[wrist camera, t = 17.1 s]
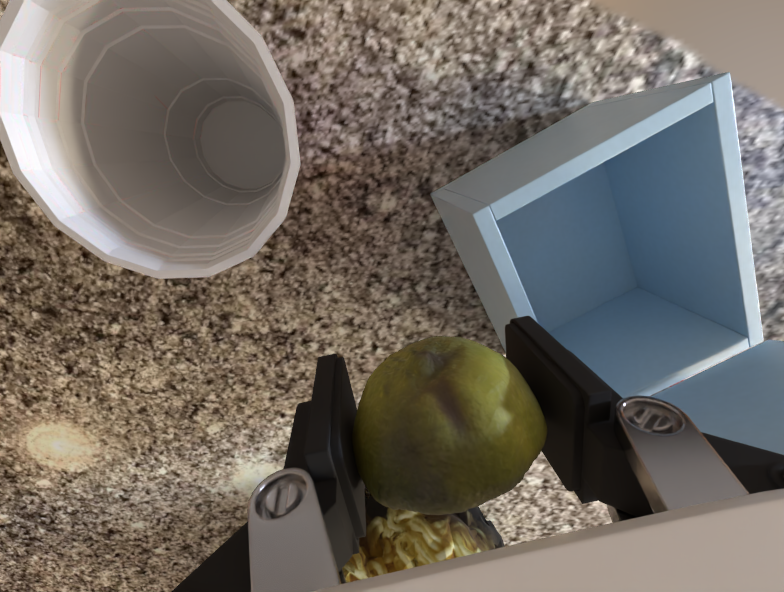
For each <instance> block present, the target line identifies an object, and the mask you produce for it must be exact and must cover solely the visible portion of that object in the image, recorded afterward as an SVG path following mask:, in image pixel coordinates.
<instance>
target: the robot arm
mask: <svg viewBox="0 0 784 592" xmlns="http://www.w3.org/2000/svg"><path fill="white" fill-rule="evenodd" d="M505 342H506V358H507V359H508V360H509V361H510V362H511V363H512V364H513V365H514V366H515V367H516V368H517V369H518V371H519V372H520V373H521V375H522V376H523V378H524V379H525V381H526V382H527V384H528V385H529V387H530V389H531V390H532V392H533V394H534V395H535V397H536V399H537V401H538V403H539V405H540V408H541V410H542V413H543V415H544V418H545V421H546V425H547V437H546V441H545V444H544V446H543V448H542V450H541V451H542V452H543V454H544V455H545V457H546V458H547V460H548V461H549V463H550V465H551V466H552V468H553V469H554V471H555V472H556V474H557V475H558V477H559V479H560V480H561V482H562V483H563V485H564V486H565V488H566V489H567V490H568V491H570V492H571V491H574V492H575V493H576V495H577V496H578V498H579V499H580V501H581V502H582V504H584V503H589V502H593V501H598V500H599V501H600V502H603V503H605V504H607V508H608V512H609V514H610V517H611V520H612V522H613V523H610V524H606V525H601V526H596V527H592V528H587V529H583V530H578V531H574V532H569V533H565V534H560V535H556V536H551V537H547V538H542V539H538V540H533V541H529V542H524V543H520V544H515V545H511V546H506V547H502V548H498V549H493V550H489V551H484V552H480V553H475V554H471V555H466V556H462V557H457V558H453V559H449V560H444V561H440V562H436V563H431V564H427V565H423V566H418V567H414V568H410V569H405V570H401V571H397V572H392V573H388V574H383V575H379V576H375V577H370V578H366V579H362V580H357V581H353V582H349V583H347V582H346V578H345V575H344V571H343V567H344V566H345V564H346V563H347V562H348V561H349V559H350V558H351V557H352V555H353V554H357V553H359V538H361V537H365V536H366V515H365V491H364V483H363V480H362V478H361V476H360V474H359V473H358V469H357V466H356V461H355V456H354V452H353V445H352V433H353V428H354V421H355V417H356V413H357V408H356V404H355V400H354V396H353V392H352V388H351V384H350V380H349V376H348V372H347V368H346V364H345V360H344V357H340V358H338V357H337V355H336V354H332V355H327V356H322V357H318V362H317V368H316V375H315V381H314V387H313V394H312V400H311V401H308V402H303V403H299V404H298V405H297V408H296V413H295V418H294V422H293V427H292V432H291V437H290V441H289V446H288V451H287V456H286V460H285V465H284V469H283V470H280V471H277V472H275V473H273V474H271V475H270V476H268V477H267V478H266V479H264V480H263V481H262V482H261V483H260V484H259V485H258V486H257V487H256V489H255V490H254V491H253V493H252V495H251V497H250V499H249V503H248V509H247V511H248V522H247V523H245V524H244V525H243V526H242V527H241V528H240V529H239V530H238V531H237V532H236V533H235V534H234V535H232V536H231V537H230V538H229V539H228V540H227V541H226V542H225V543H224V544H223V545H222V546H220V547H219V548H218V549H217V550H216V551H215V552H214V553H213V554H212V555H211V556H210V557H208V558H207V559H206V560H205V561H204V562H203V563H202V564H201V565H200V566H199V567H198V568H197V569H195V570H194V571H193V572H192V573H191V574H190V575H189V576H188V577H187V578H186V579H185V580H183V581H182V582H181V583H180V584H179V585H178V586H177V587H176V588H175V589H174V590H173V591H172V592H784V455H782V454H779V453H775V452H772V451H768V450H764V449H761V448H757V447H754V446H750V445H746V444H743V443H739V442H735V441H732V440H728V439H725V438H721V437H717V436H714V435H710V434H707V433H703V432H700V430H699V429H698V428H697V427H696V425H695V424H694V423H693V422H692V420H691V419H690V418H689V417H688V415H687V414H686V413H684V412H683V411H682V410H681V409H680V408H678V407H677V406H675V405H673V404H672V403H669V402H667V401H664V400H662V399H659V398H654V397H650V396H639V395H638V396H629V397H626V398H622V397H621V396H620V395H619V394H618V393H617V392H616V391H614V390H613V389H612V388H611V387H610V386H609V385H608V384H607V383H606V382H604V381H603V380H602V379H601V378H600V377H599V376H598V375H597V374H596V373H594V372H593V371H592V370H591V369H590V368H589V367H588V366H587V365H585V364H584V363H583V362H582V361H581V360H580V359H579V358H578V357H577V356H575V355H574V354H573V353H572V352H571V351H569V350H567V349H566V348H565V347H564V346H563V345H561V344H560V343H559V342H558V341H557V340H556V339H555V338H554V337H553V336H552V335H550V334H549V333H548V332H547V331H546V330H545V329H544V328H543V327H542V326H541V325H539V324H538V323H537V322H536V321H535V320H534V319H533V318H532V317H530V316H523V317H518V318H513V319H511V320H510V324H506V325H505Z"/></svg>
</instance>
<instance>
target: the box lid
mask: <svg viewBox="0 0 784 592" xmlns="http://www.w3.org/2000/svg"><path fill="white" fill-rule="evenodd" d="M651 397H654V398H659V399H662V400H664V401H667V402H669V403H672V404H673V405H675V406H677V407H678V408H680V409H681V410H682V411H683V412H684V413H686V414H687V415H688V417H689V418H690V419H691V420H692V422H693V423H694V424H695V425H696V427H697V428H698V429H699V430H700V432H703V433H707V434H710V435H714V436H717V437H721V438H725V439H728V440H732V441H735V442H739V443H743V444H746V445H750V446H754V447H757V448H761V449H764V450H768V451H772V452H775V453H779V454H782V455H784V341H777V340H767V341H765V342H763V343H761V344H759V345H757V346H755V347H753V348H751V349H749V350H747V351H744V352H742V353H740V354H738V355H736V356H734V357H732V358H730V359H728V360H726V361H724V362H722V363H720V364H717V365H715V366H713V367H711V368H709V369H707V370H705V371H703V372H701V373H699V374H697V375H695V376H693V377H690V378H688V379H686V380H684V381H682V382H680V383H678V384H676V385H674V386H672V387H670V388H668V389H666V390H664V391H661V392H659V393H657V394H655V395H653V396H651Z"/></svg>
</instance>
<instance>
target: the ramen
mask: <svg viewBox="0 0 784 592" xmlns="http://www.w3.org/2000/svg"><path fill="white" fill-rule="evenodd" d="M365 515H366V536H365V537H361V538H359V553H357V554H353V555H352V557H351V558H350V559H349V561H348V562H347V563H346V564H345V566H344V567H343V571H344V575H345V578H346V582H347V583H349V582H353V581H357V580H362V579H366V578H370V577H375V576H379V575H383V574H388V573H392V572H397V571H401V570H405V569H410V568H414V567H418V566H423V565H427V564H431V563H436V562H440V561H444V560H449V559H453V558H457V557H462V556H466V555H471V554H475V553H480V552H484V551H489V550H493V549H498V548H502V547H505V546H504V543H503V540H502V538H501V536H500V534H499V533H498V532H497V530H496V528H495V527H494V525H493V524H492V522H491V521H486V520H485V518H484V516H483V514H482V512H481V511H480V509H479V507H475V508H470V509H467V510H466V511H465V512H462V513H453V514H443V515H431V514H430V515H427V514H423V513H419V512H413V511H408V510H401V509H398V510H393V509H391V508H389V507H385V506H383V505H382V504H380V503H379V502H377V501H376V500H375V499H374V498H373V497H372V495H371V496H370V497H369V499H368V498H367V497H366V496H365Z"/></svg>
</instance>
